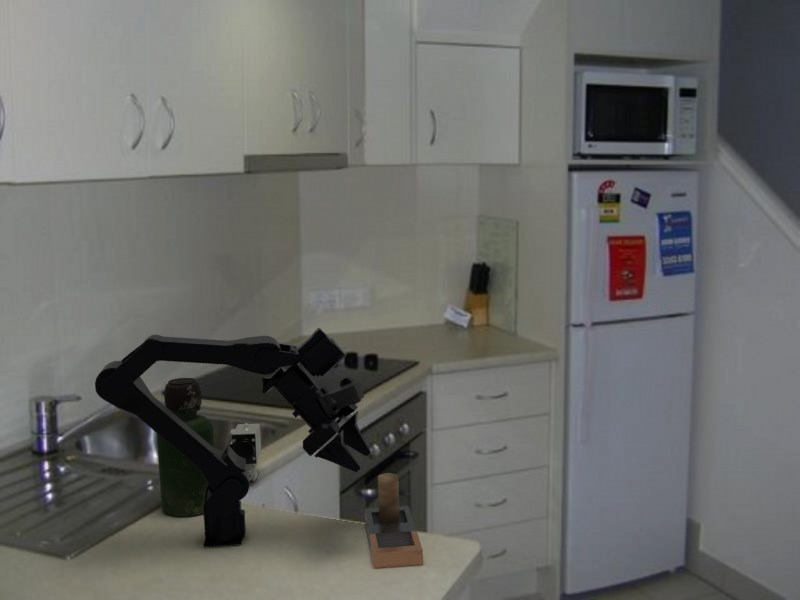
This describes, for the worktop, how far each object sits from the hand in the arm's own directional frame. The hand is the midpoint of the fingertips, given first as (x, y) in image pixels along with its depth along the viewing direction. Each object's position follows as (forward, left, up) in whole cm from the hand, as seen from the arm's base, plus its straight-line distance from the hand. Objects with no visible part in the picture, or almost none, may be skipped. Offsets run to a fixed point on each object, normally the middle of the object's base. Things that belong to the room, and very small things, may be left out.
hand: (363, 462), depth 158 cm
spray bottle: (-33, +20, -14) cm, 40 cm away
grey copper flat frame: (+4, -3, -13) cm, 14 cm away
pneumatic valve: (-23, +35, -14) cm, 44 cm away
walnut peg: (+4, +2, -13) cm, 14 cm away
